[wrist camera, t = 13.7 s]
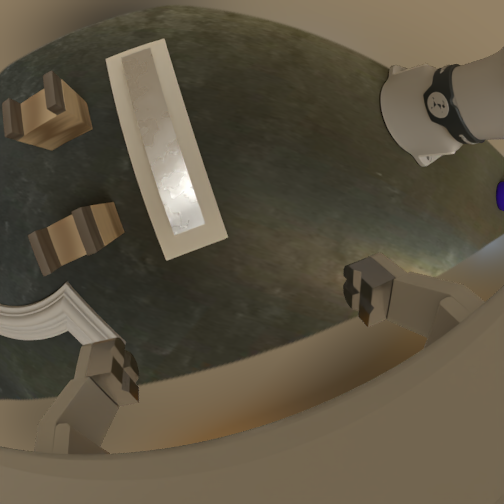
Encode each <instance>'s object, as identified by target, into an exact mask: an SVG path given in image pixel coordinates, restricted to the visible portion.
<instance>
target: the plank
mask: <svg viewBox="0 0 504 504" xmlns="http://www.w3.org/2000/svg"><path fill="white" fill-rule="evenodd" d="M147 48H151V52H152V56H153V59H154V63H155V67H156V70H157V74H158V77H159V81H160V84H161V88H162V91H163V94H164V98H165V101H166V105H167V108H168V111H169V115H170V118H171V121H172V124H173V128H174V131H175V134H176V137H177V140H178V144H179V147H180V150H181V153H182V156H183V159H184V162H185V165H186V168H187V171H188V174H189V177H190V180H191V183H192V186H193V189H194V192H195V195H196V198H197V201H198V204H199V207H200V210H201V213H202V216H203V219H204V222H205V224H203V225H200V226H198V227H195V228H192V229H189V230H187V231H184V232H182V233H179V234H176V235H174V233H173V230H172V227H171V225H170V222H169V219H168V216H167V214H166V211H165V208H164V205H163V202H162V199H161V196H160V193H159V190H158V187H157V184H156V181H155V178H154V175H153V172H152V169H151V166H150V163H149V160H148V156H147V153H146V150H145V147H144V143H143V140H142V137H141V133H140V130H139V126H138V123H137V119H136V115H135V112H134V108H133V104H132V100H131V97H130V93H129V89H128V85H127V81H126V76H125V72H124V68H123V63H122V59H121V58H122V57H124V56H127V55H130V54H132V53H135V52H138V51H141V50H144V49H147ZM106 64H107V69H108V73H109V78H110V83H111V87H112V92H113V96H114V100H115V104H116V108H117V112H118V116H119V120H120V124H121V128H122V131H123V135H124V139H125V142H126V146H127V149H128V152H129V156H130V159H131V162H132V166H133V169H134V172H135V175H136V178H137V181H138V185H139V188H140V191H141V194H142V197H143V199H144V202H145V205H146V208H147V211H148V214H149V217H150V219H151V222H152V225H153V228H154V230H155V233H156V236H157V238H158V241H159V243H160V246H161V249H162V251H163V254H164V256H165V259H166V261H167V260H170V259H173V258H175V257H178V256H181V255H183V254H186V253H188V252H191V251H194V250H196V249H199V248H202V247H204V246H207V245H210V244H212V243H215V242H218V241H221V240H223V239H226V238H228V236H227V233H226V230H225V227H224V224H223V221H222V218H221V215H220V212H219V209H218V206H217V203H216V200H215V197H214V194H213V191H212V188H211V185H210V182H209V179H208V176H207V173H206V170H205V167H204V164H203V161H202V158H201V155H200V152H199V149H198V145H197V142H196V139H195V136H194V133H193V130H192V127H191V124H190V120H189V117H188V114H187V111H186V108H185V105H184V101H183V98H182V95H181V92H180V89H179V85H178V82H177V79H176V76H175V72H174V69H173V66H172V62H171V59H170V56H169V53H168V49H167V46H166V42H165V39H161V40H158V41H154V42H151V43H148V44H145V45H142V46H139V47H136V48H133V49H130V50H127V51H125V52H122V53H119V54H117V55H114V56H112V57H109V58H107V59H106Z"/></svg>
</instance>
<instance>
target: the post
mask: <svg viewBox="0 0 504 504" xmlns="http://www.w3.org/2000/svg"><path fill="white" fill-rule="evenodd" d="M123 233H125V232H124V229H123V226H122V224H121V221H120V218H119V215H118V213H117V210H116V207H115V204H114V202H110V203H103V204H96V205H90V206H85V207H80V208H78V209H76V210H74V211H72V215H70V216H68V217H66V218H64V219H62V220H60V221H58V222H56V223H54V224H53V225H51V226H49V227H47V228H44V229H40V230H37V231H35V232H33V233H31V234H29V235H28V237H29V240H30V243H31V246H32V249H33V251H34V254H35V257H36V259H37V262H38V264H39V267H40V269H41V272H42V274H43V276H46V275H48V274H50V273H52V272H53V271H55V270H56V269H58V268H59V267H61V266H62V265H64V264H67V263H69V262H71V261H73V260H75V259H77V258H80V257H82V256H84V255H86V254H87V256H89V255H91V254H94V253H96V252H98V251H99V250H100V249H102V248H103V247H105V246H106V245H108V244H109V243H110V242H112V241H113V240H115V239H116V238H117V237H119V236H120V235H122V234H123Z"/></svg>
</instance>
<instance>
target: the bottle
mask: <svg viewBox="0 0 504 504" xmlns="http://www.w3.org/2000/svg"><path fill="white" fill-rule="evenodd" d="M496 200H497V205H498V207H499V209H500V210H502V211H504V182H500V183H499V184H498V186H497V191H496Z"/></svg>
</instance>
